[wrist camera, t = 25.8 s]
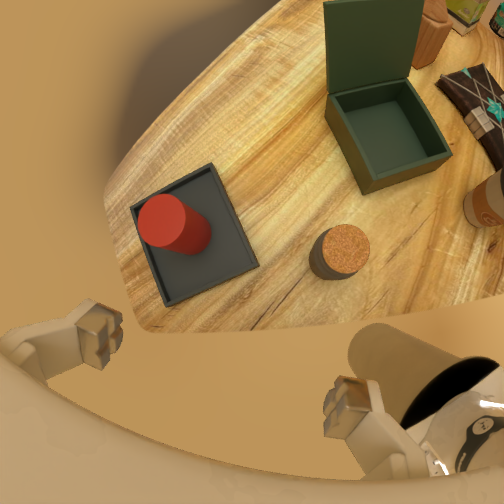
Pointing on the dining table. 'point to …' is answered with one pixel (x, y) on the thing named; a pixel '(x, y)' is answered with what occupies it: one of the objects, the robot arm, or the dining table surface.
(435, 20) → the decorative item
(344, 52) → the chest lid
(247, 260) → the tray
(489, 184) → the coffee cup
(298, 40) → the dining table surface
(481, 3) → the tea box
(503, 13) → the beverage can
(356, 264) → the bottle
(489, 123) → the book
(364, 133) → the chest
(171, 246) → the red cylinder
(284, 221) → the dining table surface
